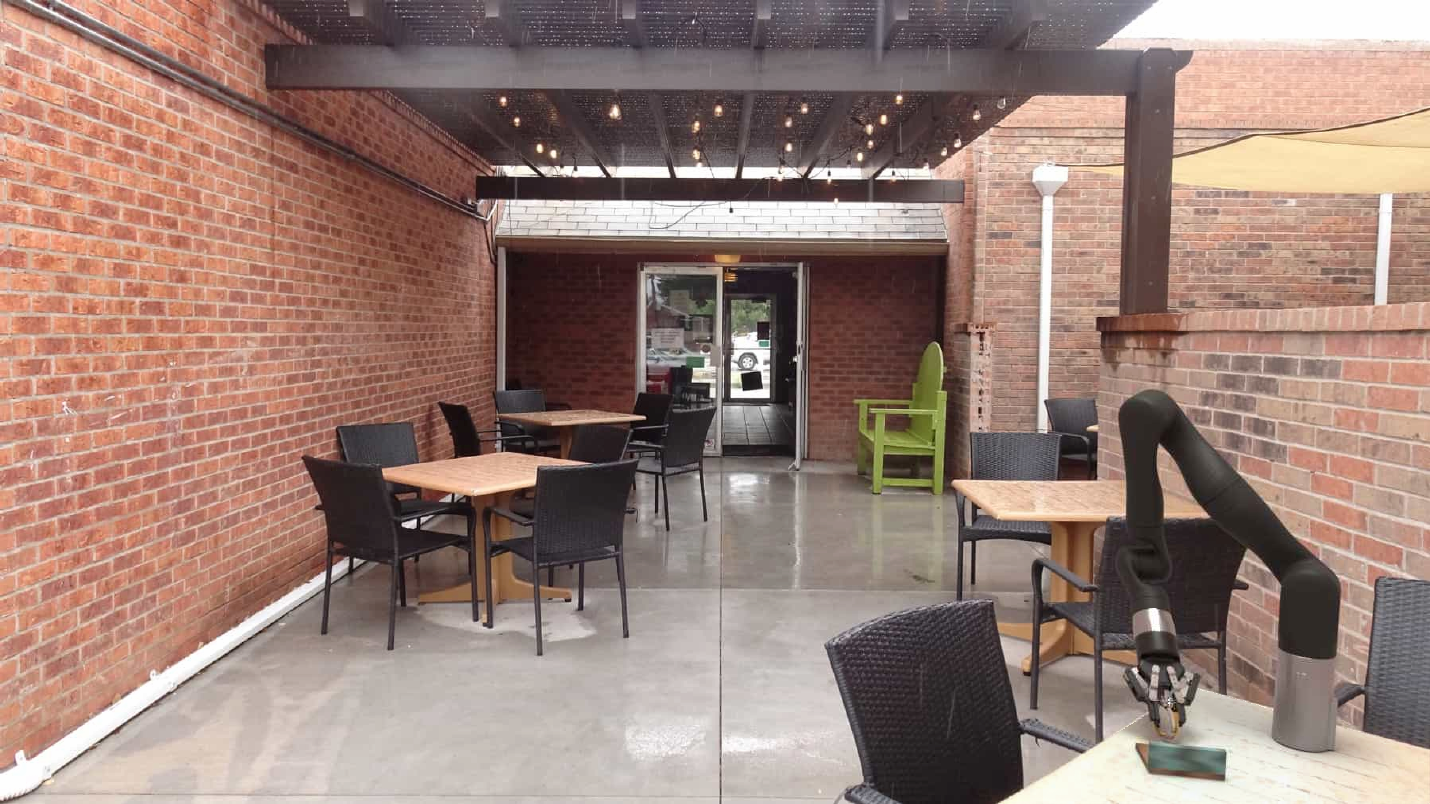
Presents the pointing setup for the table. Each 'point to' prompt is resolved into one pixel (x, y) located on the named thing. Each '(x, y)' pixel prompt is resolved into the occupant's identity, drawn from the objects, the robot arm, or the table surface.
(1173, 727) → the gold diamond ring
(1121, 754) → the table surface
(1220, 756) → the desk nameplate
